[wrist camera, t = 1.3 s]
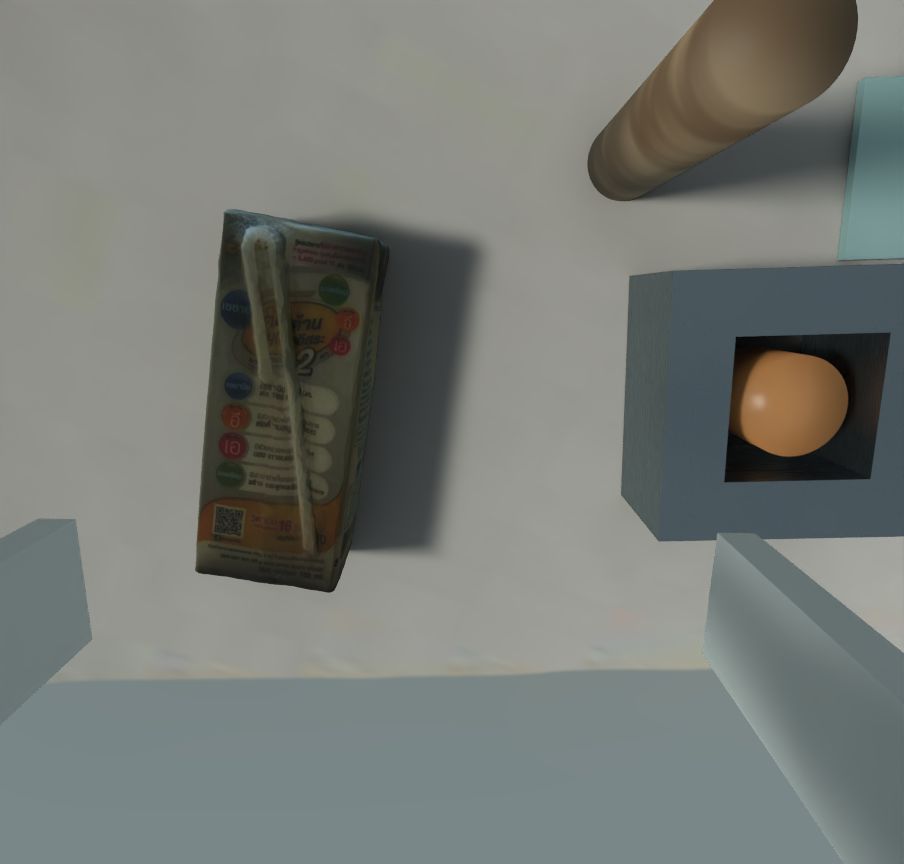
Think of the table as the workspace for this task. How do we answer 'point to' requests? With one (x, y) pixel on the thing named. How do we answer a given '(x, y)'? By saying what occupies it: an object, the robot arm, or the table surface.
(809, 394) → the button
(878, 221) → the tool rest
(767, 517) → the box
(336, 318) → the beverage carton
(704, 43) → the brown rounded rod
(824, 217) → the table surface
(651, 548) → the table surface
